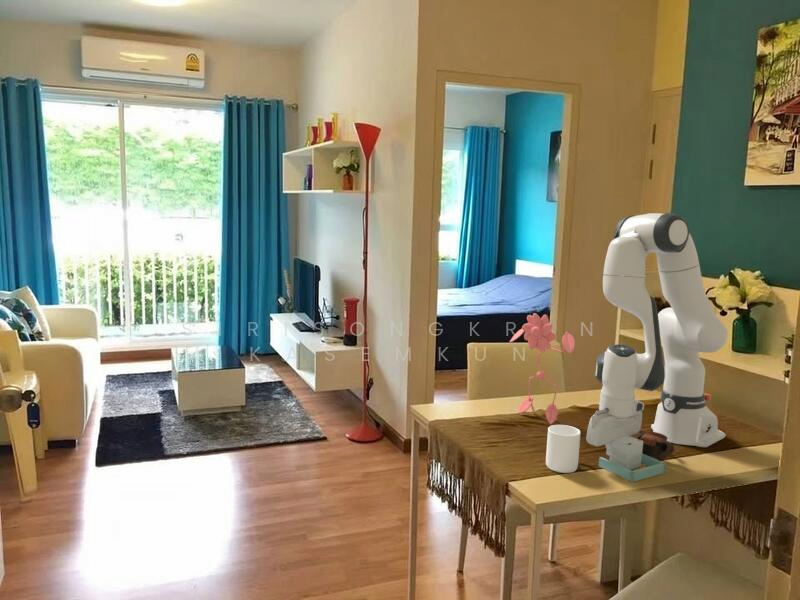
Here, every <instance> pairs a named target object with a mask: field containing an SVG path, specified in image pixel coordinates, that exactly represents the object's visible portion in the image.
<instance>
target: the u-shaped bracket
mask: <svg viewBox="0 0 800 600" xmlns="http://www.w3.org/2000/svg"><path fill="white" fill-rule="evenodd" d="M641 464H642V465H645V466H646V467H643V468H640V469H636V470H635V469H634V470H629V469H627V468H624V467H622V466H620V465H618V464H616V463H613V462H611V461H609V460H608V458H607V459H606V458H604V457H602V456H600V457H599V458H598V467H599V468H602V469H604V470H607V471H609V472H611V473H612V474H614V475H617V476H619V477H621V478H623V479H625V480H626V481H630V482H631V483H634V482H637V481H640V480H643V479H644V480H645V479H647V478H650V477H654V476H657V475H661V474H665V473H666V470H667V463H665V462H664V461H662V460H659V459H657V460H656V459H654V458H652V457H649V456H647V455H644V454H642V458H641Z"/></svg>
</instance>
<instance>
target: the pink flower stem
mask: <svg viewBox="0 0 800 600" xmlns="http://www.w3.org/2000/svg"><path fill="white" fill-rule="evenodd" d="M549 319H550V318H549V316H548V315H547V314H543V315H542V316H541V317H540V316H539V315H538V314H537V313H536V312H534V313H533V314H532V315H531V314H528V315H527V317H526V320H527V323H524V324H523V325H522V327H521V329H519V330H518V331H517V332H516V333H515V334H514V335H513V336H512V337H511V339H510V340H509V343H513V342H515V341H516V340H517V339H518V338H520V337H521V336H522V335H523V338H524V340H525V341H528V342H527V344H528V348H529V349H530V350H534V349H535V350H538V351H539V352H538V353H537V354H536V359H537V360H536V361H537V365H538V369H539V371H537V372H536V374H535V375H534V376H530V377H529V379H528V396H527V397H526V398H525V399H523V401H522V402H521V403H520V405H519V406H518V413H517V414H518V415H520V414H523V413H525V412H526V411H527V410H529V409H530V408H531V410H532V413H533V414H535V412H536V411H535V409H534V408H535V407H534V405H533V401H534V397H533V396H531V379H532V378H536V377H537V379H538V380H545V381H547V382H549V383H550V384H552V385H554V387H555V386H556V388H555V391H554V396H553V401H552V403H551V404H548V406H547V407H546V410H545V417H546V420H547V421H548V423H549V424H550V425H552V424H553V423H554V422H556V421H558V416H559V414H558V413H559V411H558V408H557V407H558V406H557V405H555V400H556V395H557V391H558V389H559V388H558V385H557V384H555V383H554V382H553V381H551V380H549V379H548V378H546V373H545V372H544V371H543V370H541V365H540V359H539V356H540V355H542V354H543V353H545V351H547V350H552V351H554V352H558V353H560V354H564V352H565V351H566V352H567V353H569V354H572V352H573V351H574V349H575V345H576V341H575V338H574V336H573V335H572V334H571V333H569V331H566V332H565V333H564V334H563V335H562V338H561V345H562V350H560V349H557V348H553V347H552V345H551V343H550V342H553V341H555V340H556V339H557V335H556V334H555V333H554V332H552V331H553V324H552V323H550V321H549ZM511 423H512V424H514V425H516V426H517V427H521V428H525V429H527V427H526V426H522V425H519V424H516V423H514V422H513V421H511ZM528 429H530V430H532V428H530V427H528ZM533 431H538V429H535V428H533ZM541 431H545V432H546V431H547V432H548V429H541Z"/></svg>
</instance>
